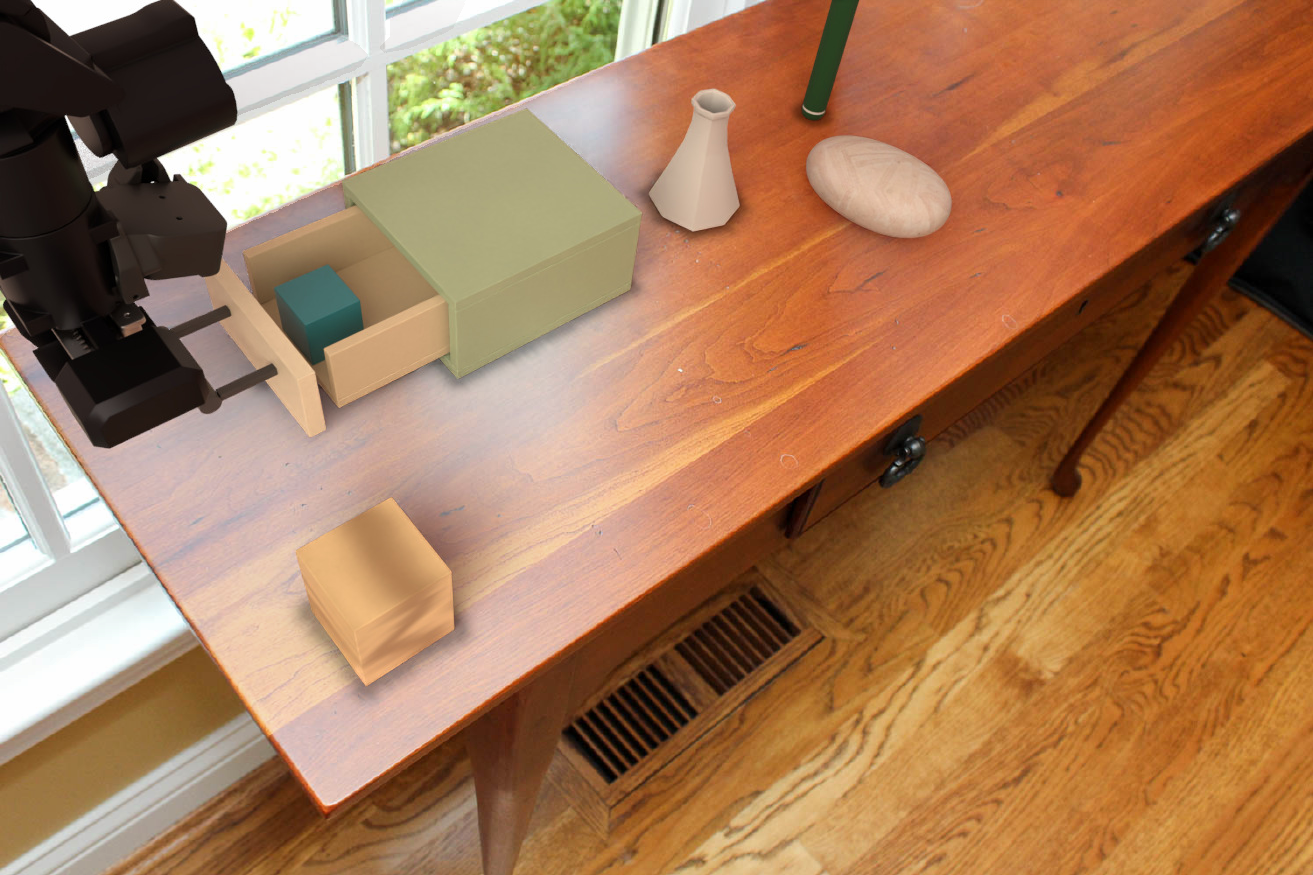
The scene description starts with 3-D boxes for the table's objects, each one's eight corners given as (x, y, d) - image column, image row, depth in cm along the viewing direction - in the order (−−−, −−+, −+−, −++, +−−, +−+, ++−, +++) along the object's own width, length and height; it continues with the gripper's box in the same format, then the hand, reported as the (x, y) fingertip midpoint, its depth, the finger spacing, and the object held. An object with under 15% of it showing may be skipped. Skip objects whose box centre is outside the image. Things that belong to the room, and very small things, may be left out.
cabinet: (457, 379, 75) (455, 302, 69) (352, 262, 80) (341, 180, 74) (630, 289, 82) (642, 212, 76) (523, 187, 87) (526, 107, 81)
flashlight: (779, 97, 99) (835, -120, 83) (830, 97, 100) (896, -117, 84) (792, 132, 96) (853, -86, 81) (845, 132, 97) (916, -83, 82)
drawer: (234, 476, 67) (215, 419, 62) (142, 350, 72) (118, 287, 67) (496, 343, 76) (497, 284, 71) (398, 238, 81) (393, 177, 76)
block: (313, 366, 71) (305, 325, 68) (282, 328, 73) (273, 287, 70) (365, 340, 73) (360, 300, 70) (334, 305, 75) (328, 263, 71)
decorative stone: (777, 198, 91) (791, 150, 87) (832, 150, 96) (847, 104, 92) (906, 274, 87) (926, 228, 83) (956, 221, 92) (978, 176, 88)
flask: (632, 194, 89) (647, 92, 81) (695, 163, 92) (714, 61, 84) (691, 245, 86) (713, 144, 78) (754, 210, 89) (780, 110, 81)
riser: (365, 687, 61) (353, 631, 55) (311, 610, 63) (294, 550, 58) (454, 629, 64) (452, 571, 58) (399, 558, 66) (391, 496, 60)
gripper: (277, 248, 52) (317, 437, 65) (107, 49, 59) (173, 254, 72) (44, 345, 47) (136, 530, 59) (-111, 114, 54) (0, 322, 67)
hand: (116, 397), depth 64 cm, fingers closed
